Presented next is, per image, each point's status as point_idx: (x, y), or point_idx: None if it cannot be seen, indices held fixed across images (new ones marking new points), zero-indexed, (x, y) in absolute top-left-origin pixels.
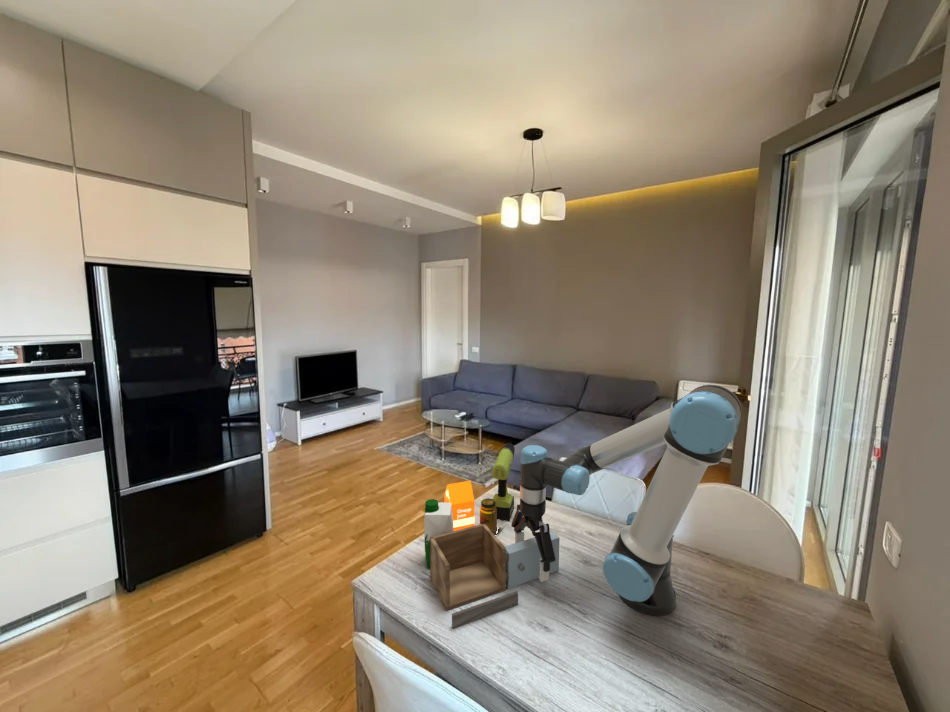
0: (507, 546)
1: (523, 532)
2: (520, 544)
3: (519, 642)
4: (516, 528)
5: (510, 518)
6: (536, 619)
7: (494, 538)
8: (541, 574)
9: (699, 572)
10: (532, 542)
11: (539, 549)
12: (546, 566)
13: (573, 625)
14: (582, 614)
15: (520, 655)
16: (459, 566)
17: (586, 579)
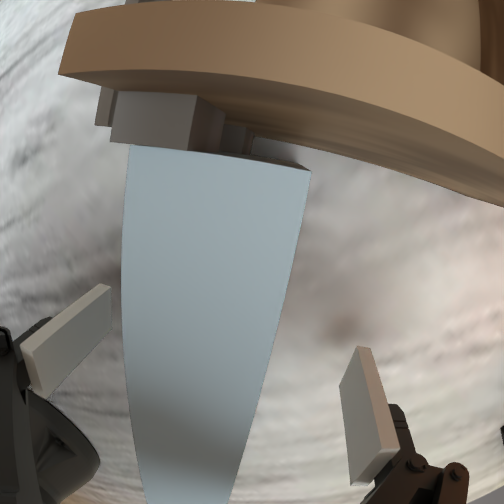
0: (275, 246)
1: (355, 483)
2: (206, 392)
3: (34, 53)
4: (400, 489)
5: (502, 435)
6: (50, 151)
7: (478, 81)
8: (77, 302)
9: (84, 499)
10: (178, 460)
11: (6, 399)
12: (23, 336)
13: (5, 239)
14: (23, 293)
15: (16, 41)
16: (485, 49)
17: (123, 417)
